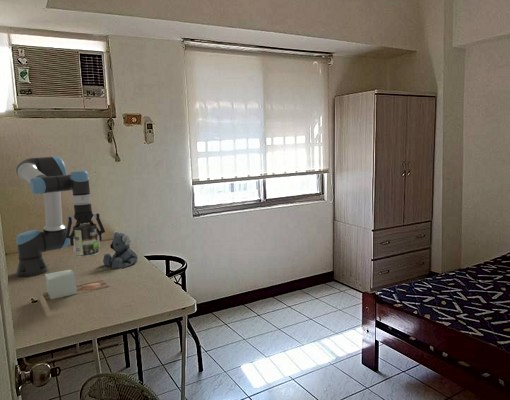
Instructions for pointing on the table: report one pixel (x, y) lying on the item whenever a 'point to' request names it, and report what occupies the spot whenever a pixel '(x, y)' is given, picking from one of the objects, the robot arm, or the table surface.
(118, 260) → the koala plush
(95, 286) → the board
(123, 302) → the table surface
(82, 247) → the coffee can
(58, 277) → the pale green block
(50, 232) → the robot arm
